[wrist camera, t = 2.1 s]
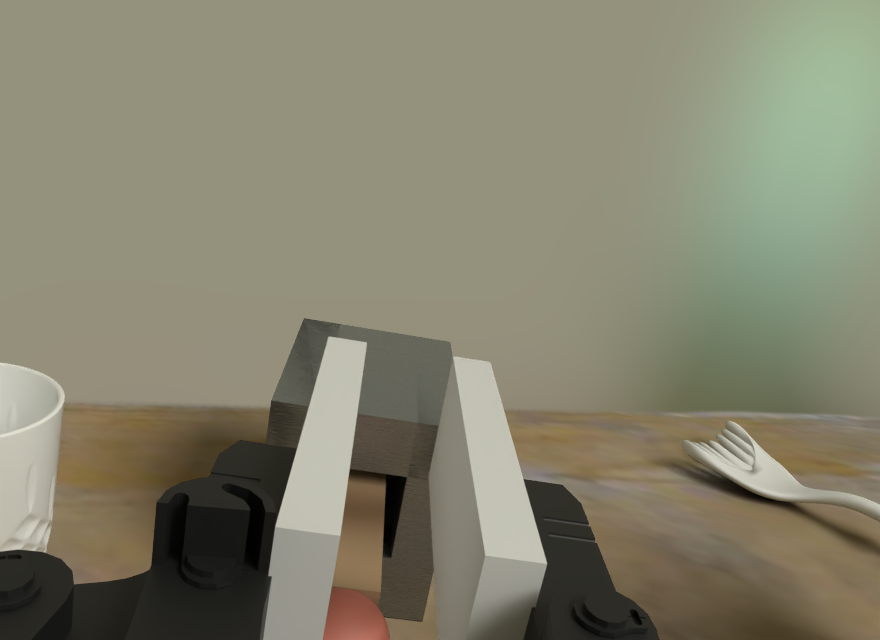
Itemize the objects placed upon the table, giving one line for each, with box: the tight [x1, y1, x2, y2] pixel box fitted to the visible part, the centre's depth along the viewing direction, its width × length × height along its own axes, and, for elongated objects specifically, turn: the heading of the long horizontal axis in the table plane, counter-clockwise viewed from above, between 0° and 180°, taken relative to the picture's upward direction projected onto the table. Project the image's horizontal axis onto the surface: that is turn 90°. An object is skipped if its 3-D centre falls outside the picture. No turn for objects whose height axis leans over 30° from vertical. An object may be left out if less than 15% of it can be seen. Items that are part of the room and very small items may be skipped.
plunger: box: [323, 469, 390, 640], centre depth 33 cm, size 14×4×4 cm, turn 2°
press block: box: [266, 319, 453, 621], centre depth 43 cm, size 12×9×11 cm
